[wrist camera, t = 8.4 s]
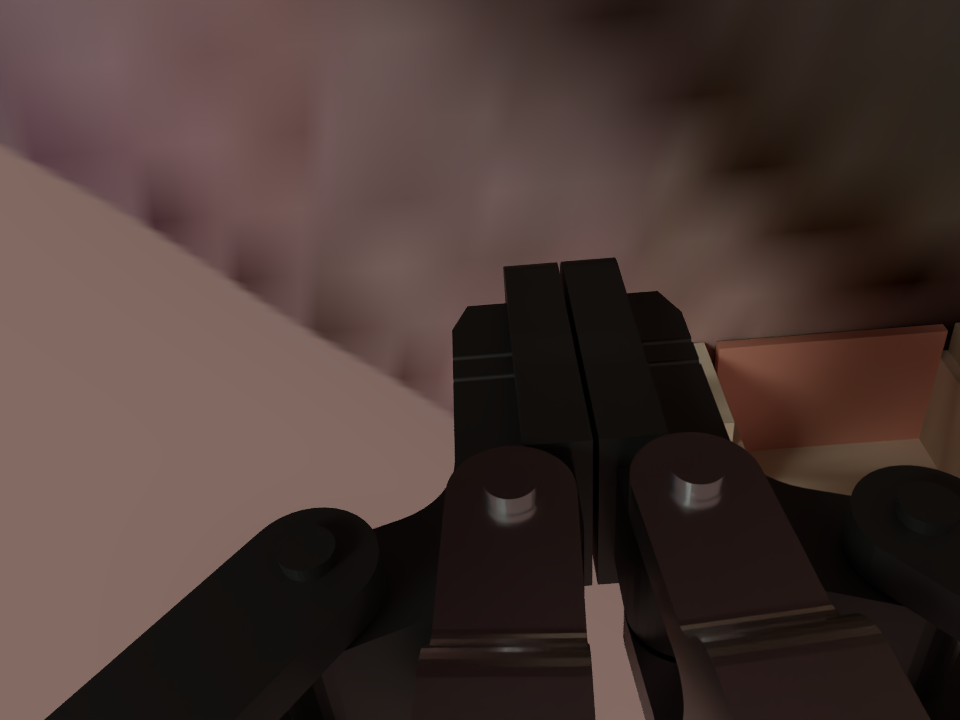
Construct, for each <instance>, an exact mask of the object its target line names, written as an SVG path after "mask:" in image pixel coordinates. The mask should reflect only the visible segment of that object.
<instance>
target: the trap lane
mask: <svg viewBox="0 0 960 720" xmlns="http://www.w3.org/2000/svg"><path fill="white" fill-rule="evenodd" d="M947 333H948V330H947V329H946V328H945V326H944V325H943V324H937V325H924V326H911V327H898V328H885V329H873V330H860V331H847V332H834V333H821V334H808V335H795V336H783V337H770V338H757V339H744V340H731V341H718V342H717V344H716V356H715V367H713V364H712V362H711V359H710V356H709V354H708V351H707V348H706V346H705V343H694V346H695V349H696V351H697V354H698V357H699V363H701V364H702V367H703V370H704V372H705V375H706V378H707V380H708V383H709V386H710V388H711V391H712V393H713V396H714V399H715V401H716V404H717V407H718V409H719V412H720V414H721V417H722V420H723V422H724V425H725V428H726V430H727V433H728V436H729V438H730V440H731V441H732V442H734V443H736V444H737V445H739V446H741V447H742V448H744V449H745V450H746V451H747V452H749V453H750V454H751V455H752V456H753V457H754V458H755V459H756V460H757V462H758V464H759V465H760V467H761V468H762V470H763V472H764V474H765V475H767V476H769V477H771V478H773V479H776V480H778V481H781V482H784V483H787V484H790V485H793V486H798V487H803V488H808V489H814V490H820V491H826V492H832V493H838V494H844V495H851V494H852V491H853V489H854V487H855V485H856V484H857V483H858V482H859V481H860V480H861V478H863V477H864V476H866V475H867V474H869V473H871V472H873V471H875V470H877V469H881V468H884V467H888V466H897V465H914V466H922V467H928V468H932V469H937V470H940V471H943V472H946V473H949V474H951V475H953V476H956V477H958V478H960V323H955V326H954V330H953V333H952V337H951V341H950V344H949V348H948V350H943V348H944V344H945V341H946V337H947Z"/></svg>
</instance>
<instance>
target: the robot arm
mask: <svg viewBox="0 0 960 720" xmlns="http://www.w3.org/2000/svg"><path fill="white" fill-rule="evenodd" d="M503 269H504V287H505V303H504V304H492V305H479V306H467V308H466V310H465V311H464V313H463V314H462V316H461V317H460V319H459V321H458V322H457V324H456V325H455V327H454V328H453V330H452V339H453V380H454V383H453V388H454V436H455V467H454V472H453V474H452V475H451V477H450V479H449V481H448V483H447V487H446V488H445V490H444V491H443V492H442V494H441V495H440V496H439V497H438V498H437V499H436V500H435V501H433V502H432V503H431V504H429V505H428V506H427V507H425V508H424V509H422V510H420V511H419V512H417V513H415V514H413V515H411V516H408V517H406V518H403V519H401V520H398V521H395V522H392V523H389V524H387V525H383V526H381V527H378V528H375V529H372V528H371V527H370V526H369V525H368V524H367V523H366V522H365V521H364V520H363V519H361V518H360V517H358V516H357V515H355V514H353V513H350V512H348V511H345V510H340V509H336V508H311V509H305V510H301V511H297V512H294V513H291V514H289V515H286V516H284V517H282V518H280V519H278V520H276V521H274V522H273V523H271V524H269V525H268V526H267V527H265V528H264V529H263V530H262V531H261V532H259V533H258V534H257V535H256V536H255V537H253V538H252V539H251V540H250V541H249V542H248V543H247V544H245V545H244V546H243V547H242V548H241V549H240V550H239V551H237V552H236V553H235V554H234V555H233V556H232V557H231V558H229V559H228V560H227V561H226V562H225V563H224V564H223V565H221V566H220V567H219V568H218V569H217V570H216V571H214V573H212V574H211V575H210V576H209V577H208V578H206V579H205V580H204V581H203V582H202V583H201V584H200V585H199V586H197V587H196V588H195V589H194V590H193V591H192V592H190V593H189V594H188V595H187V596H186V597H185V598H183V599H182V600H181V601H180V602H179V603H178V604H177V605H176V606H174V607H173V608H172V609H171V610H170V611H169V612H168V613H166V614H165V615H164V616H163V617H162V618H161V619H159V620H158V621H157V622H156V623H155V624H154V625H152V626H151V627H150V628H149V629H148V630H147V631H146V632H144V633H143V634H142V635H141V636H140V637H139V638H138V639H136V640H135V641H134V642H133V643H132V644H131V645H130V646H128V647H127V648H126V649H125V650H124V651H123V652H122V653H120V654H119V655H118V656H117V657H116V658H115V659H113V660H112V661H111V662H110V663H109V664H108V665H107V666H105V667H104V668H103V669H102V670H101V671H100V672H99V673H98V674H96V675H95V676H94V677H93V678H92V679H91V680H89V681H88V682H87V683H86V684H85V685H84V686H83V687H81V688H80V689H79V690H78V691H77V692H76V693H74V694H73V695H72V696H71V697H70V698H69V699H68V700H67V701H65V702H64V703H63V704H62V705H61V706H60V707H59V708H57V709H56V710H55V711H54V712H53V713H52V714H51V715H49V716H48V717H47V718H46V719H45V720H595V707H594V692H593V678H592V664H591V652H590V645H589V644H588V642H587V629H586V615H585V599H584V586H589V585H592V554H593V560H594V565H595V572H596V577H597V582H598V584H611V583H619V585H620V590H621V595H622V600H623V605H624V626H623V639H624V645H625V648H626V652H627V656H628V659H629V663H630V667H631V670H632V674H633V677H634V681H635V684H636V688H637V692H638V695H639V699H640V702H641V705H642V709H643V713H644V716H645V720H960V478H958V477H956V476H953V475H951V474H949V473H946V472H943V471H940V470H937V469H932V468H928V467H922V466H914V465H897V466H888V467H884V468H881V469H877V470H875V471H873V472H871V473H869V474H867V475H866V476H864V477H863V478H861V480H860V481H859V482H858V483H857V484H856V485H855V487H854V489H853V491H852V494H851V495H844V494H838V493H832V492H826V491H820V490H814V489H808V488H803V487H798V486H793V485H790V484H787V483H784V482H781V481H778V480H776V479H773V478H771V477H769V476H767V475H765V474H764V472H763V470H762V468H761V467H760V465H759V464H758V462H757V460H756V459H755V458H754V457H753V456H752V455H751V454H750V453H749V452H747V451H746V450H745V449H744V448H742V447H741V446H739V445H737V444H736V443H734V442H732V441H731V440H730V438H729V436H728V433H727V430H726V428H725V425H724V422H723V420H722V417H721V414H720V412H719V409H718V407H717V404H716V401H715V399H714V396H713V393H712V391H711V388H710V386H709V383H708V380H707V378H706V375H705V372H704V370H703V367H702V364H701V363H699V357H698V354H697V351H696V349H695V346H694V343H693V342H691V335H690V333H689V330H688V328H687V325H686V322H685V320H684V317H683V314H682V312H681V311H680V310H679V309H678V308H676V307H675V306H674V305H673V304H672V303H671V302H669V301H668V300H667V299H666V298H665V297H664V296H663V295H661V294H660V293H659V292H658V291H652V292H639V293H626V289H625V286H624V283H623V280H622V276H621V273H620V270H619V266H618V263H617V260H616V258H602V259H590V260H577V261H565V262H561V264H560V273H559V268H558V264H557V262H555V263H542V264H530V265H517V266H505V267H503Z"/></svg>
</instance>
